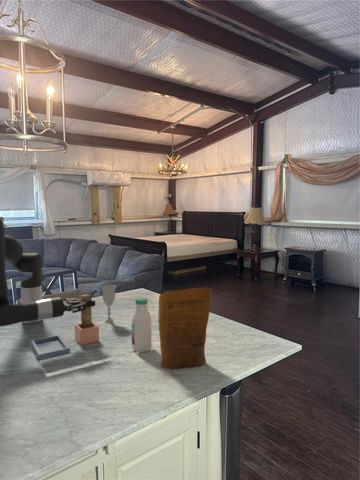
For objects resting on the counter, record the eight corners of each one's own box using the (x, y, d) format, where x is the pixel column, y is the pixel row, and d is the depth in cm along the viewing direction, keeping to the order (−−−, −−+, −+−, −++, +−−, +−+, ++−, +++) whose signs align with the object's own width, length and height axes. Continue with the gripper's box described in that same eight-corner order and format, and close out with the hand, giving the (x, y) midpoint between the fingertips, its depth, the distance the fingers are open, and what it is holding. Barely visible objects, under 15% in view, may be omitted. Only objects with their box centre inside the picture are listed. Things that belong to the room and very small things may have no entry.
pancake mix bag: (213, 368, 113) (214, 288, 111) (158, 373, 110) (158, 291, 107) (207, 359, 120) (209, 284, 118) (156, 363, 116) (156, 286, 114)
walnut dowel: (80, 330, 135) (79, 295, 134) (89, 328, 138) (89, 293, 136) (83, 333, 132) (82, 297, 130) (93, 331, 134) (92, 296, 133)
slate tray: (30, 346, 130) (30, 339, 130) (59, 340, 137) (59, 334, 136) (38, 361, 117) (38, 354, 117) (70, 354, 123) (69, 347, 123)
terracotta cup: (74, 340, 136) (74, 324, 135) (92, 337, 140) (92, 321, 140) (80, 347, 130) (80, 330, 129) (99, 343, 134) (98, 326, 133)
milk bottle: (154, 346, 131) (154, 297, 129) (146, 354, 124) (146, 302, 122) (137, 343, 134) (137, 295, 132) (128, 351, 127) (127, 300, 125)
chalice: (112, 326, 153) (112, 288, 151) (99, 325, 154) (98, 288, 153) (118, 321, 160) (118, 285, 158) (105, 320, 161) (105, 284, 160)
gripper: (53, 303, 119) (99, 296, 129) (45, 294, 131) (87, 289, 141) (54, 323, 120) (99, 315, 130) (45, 312, 132) (87, 306, 141)
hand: (92, 301), depth 135 cm, fingers closed on walnut dowel, 4 cm apart
